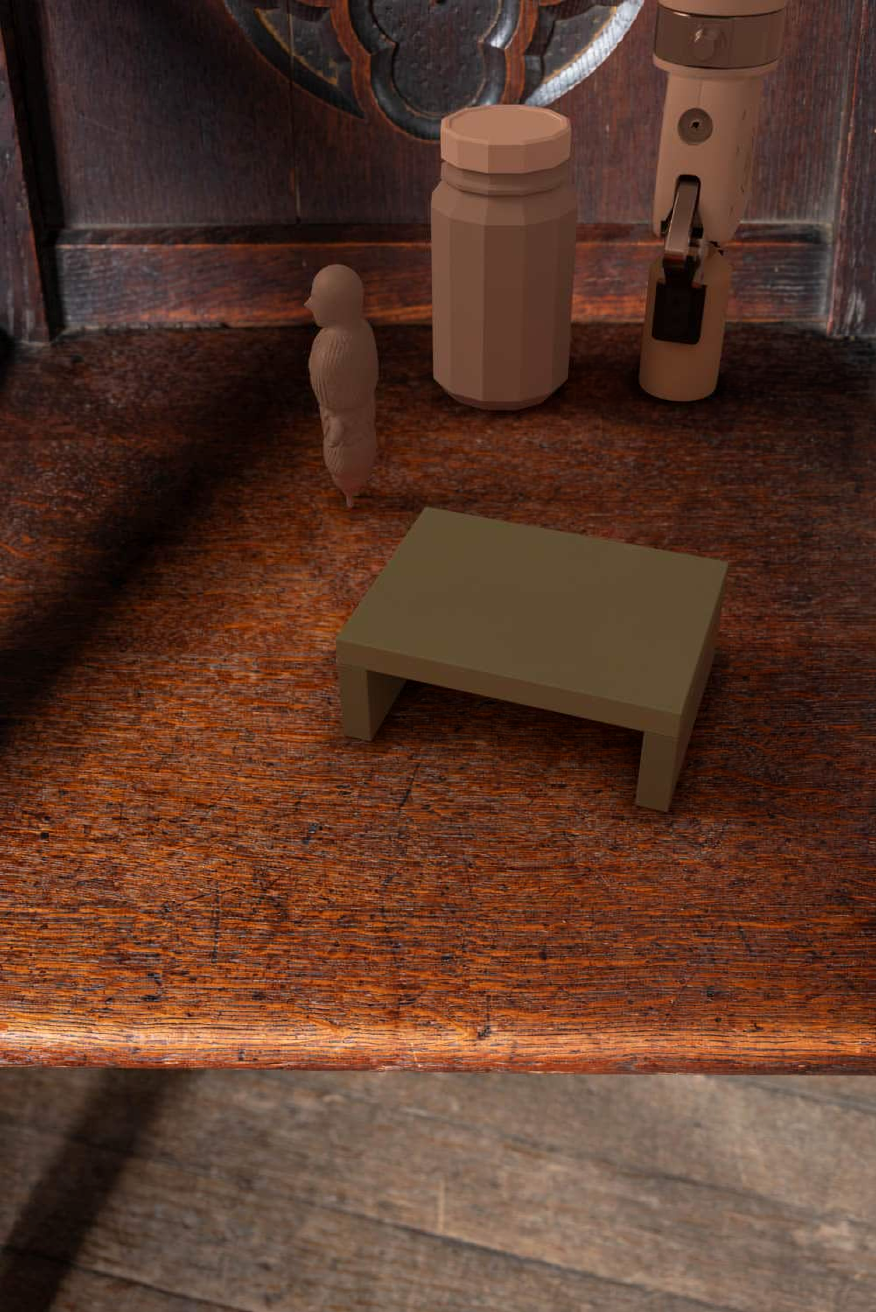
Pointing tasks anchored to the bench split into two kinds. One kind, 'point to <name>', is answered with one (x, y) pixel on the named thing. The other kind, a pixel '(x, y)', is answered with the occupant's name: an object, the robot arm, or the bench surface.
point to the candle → (684, 365)
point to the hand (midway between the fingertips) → (684, 319)
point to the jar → (503, 256)
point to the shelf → (540, 631)
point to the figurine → (344, 377)
